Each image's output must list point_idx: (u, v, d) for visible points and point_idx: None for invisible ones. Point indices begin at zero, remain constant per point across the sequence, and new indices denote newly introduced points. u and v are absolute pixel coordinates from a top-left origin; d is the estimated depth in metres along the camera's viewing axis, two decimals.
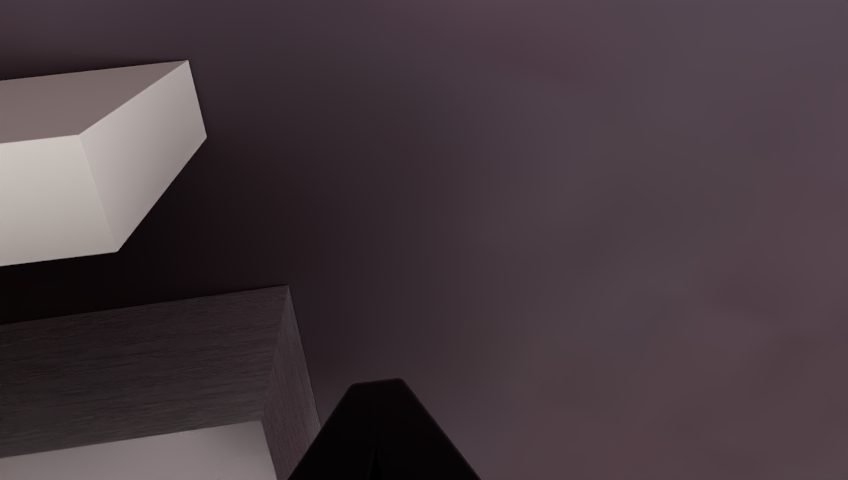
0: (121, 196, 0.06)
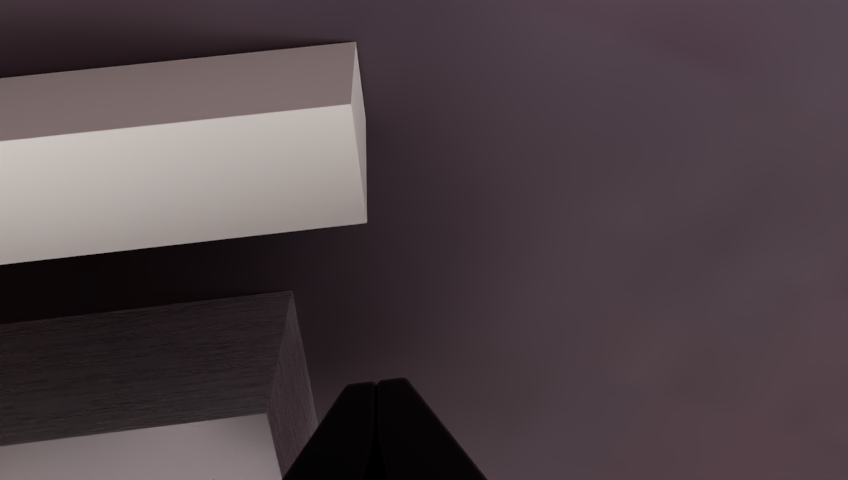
0: (361, 169, 0.06)
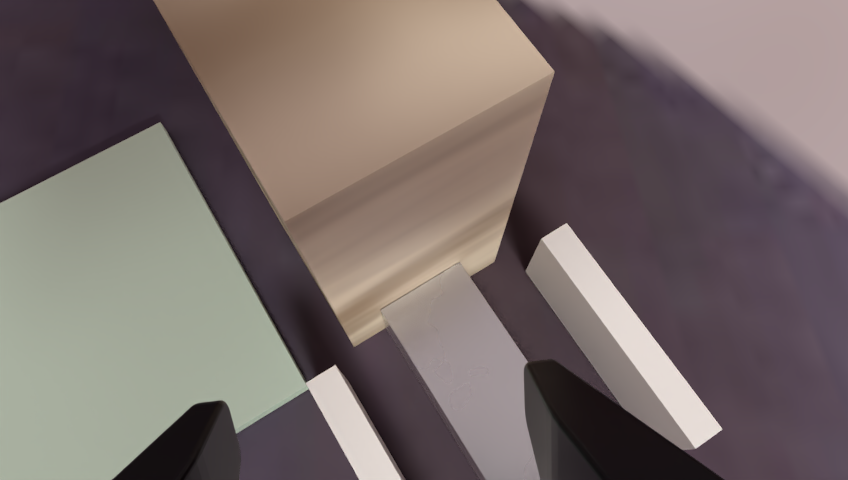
0: None
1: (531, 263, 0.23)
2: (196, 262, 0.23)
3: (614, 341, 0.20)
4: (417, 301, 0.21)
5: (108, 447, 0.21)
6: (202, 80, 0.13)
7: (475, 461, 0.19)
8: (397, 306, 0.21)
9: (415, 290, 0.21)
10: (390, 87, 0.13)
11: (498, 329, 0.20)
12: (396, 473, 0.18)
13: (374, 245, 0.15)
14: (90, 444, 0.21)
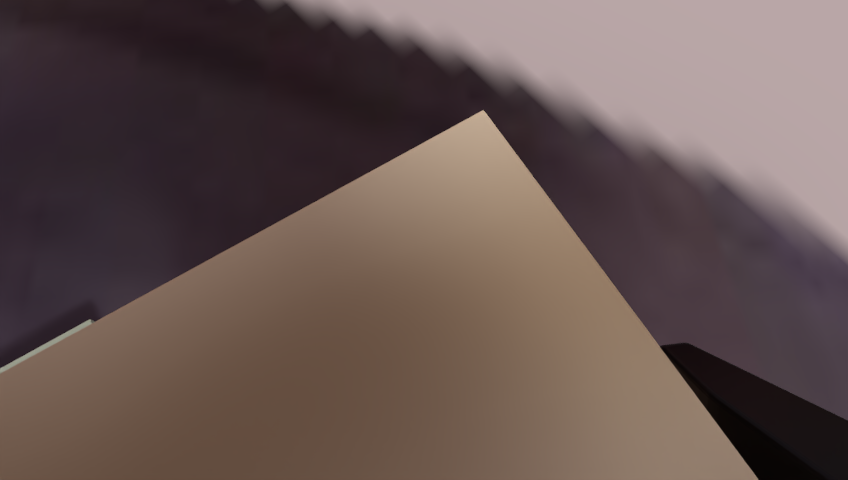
0: None
1: None
2: None
3: None
4: None
5: None
6: None
7: None
8: None
9: None
10: None
11: None
12: None
13: None
14: None
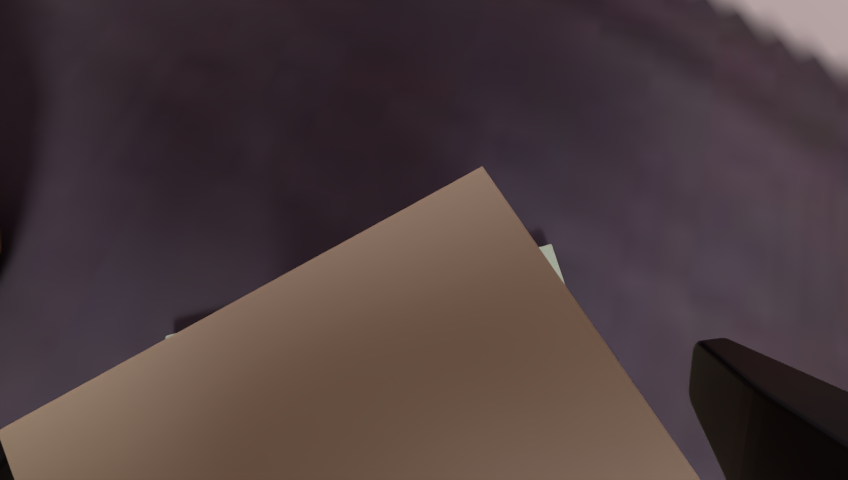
0: None
1: None
2: None
3: None
4: None
5: None
6: None
7: None
8: None
9: None
10: None
11: None
12: None
13: None
14: None
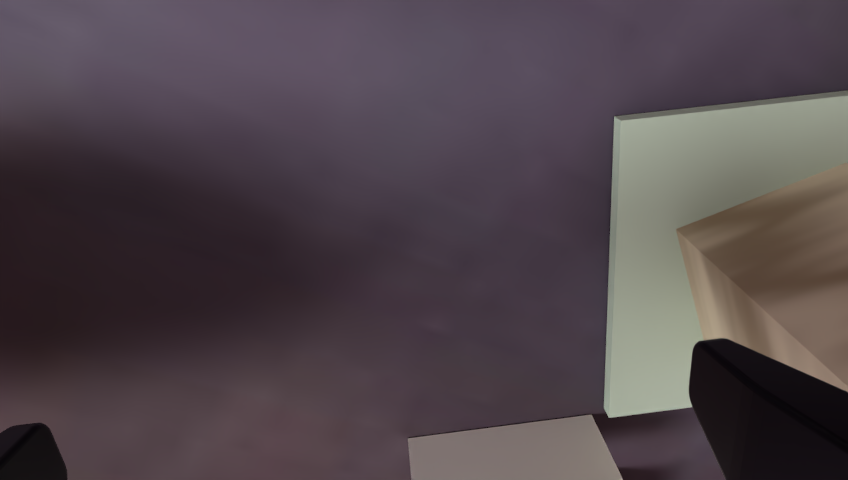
0: None
1: None
2: None
3: None
4: None
5: (662, 268, 0.23)
6: None
7: None
8: None
9: None
10: None
11: None
12: None
13: None
14: (674, 256, 0.23)
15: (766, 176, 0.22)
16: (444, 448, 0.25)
